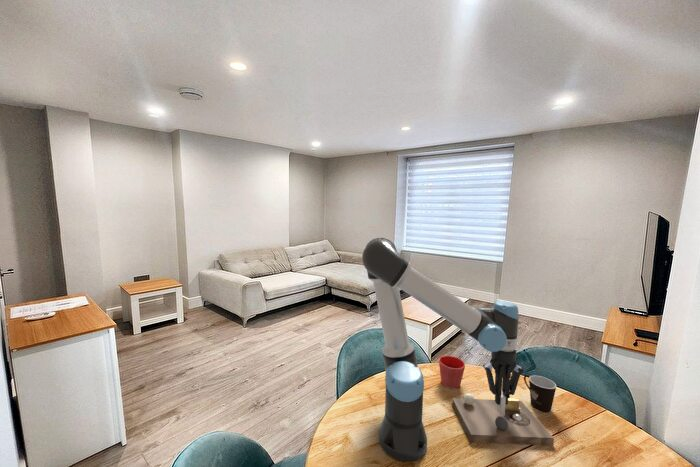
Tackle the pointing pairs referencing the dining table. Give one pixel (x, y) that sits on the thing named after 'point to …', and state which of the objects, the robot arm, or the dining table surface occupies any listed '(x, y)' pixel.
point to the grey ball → (501, 423)
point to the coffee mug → (541, 392)
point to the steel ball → (517, 417)
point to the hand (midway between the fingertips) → (500, 412)
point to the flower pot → (451, 371)
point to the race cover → (512, 405)
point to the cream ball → (469, 399)
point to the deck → (484, 429)
